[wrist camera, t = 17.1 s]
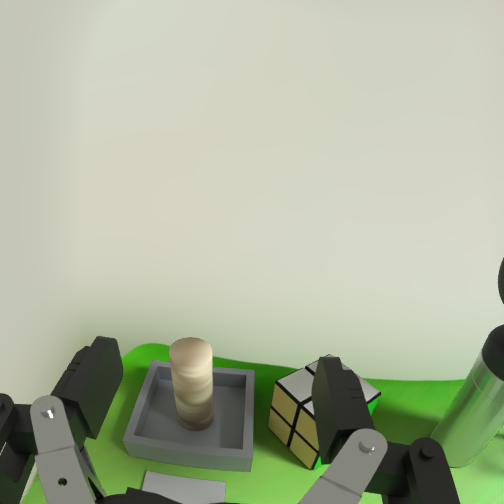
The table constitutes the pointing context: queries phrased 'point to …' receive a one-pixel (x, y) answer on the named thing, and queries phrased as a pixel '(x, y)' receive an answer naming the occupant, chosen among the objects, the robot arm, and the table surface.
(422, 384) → the table surface
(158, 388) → the tray
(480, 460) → the table surface
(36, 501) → the table surface
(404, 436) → the table surface
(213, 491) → the rubber mat
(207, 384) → the wooden canister
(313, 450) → the puzzle cube
